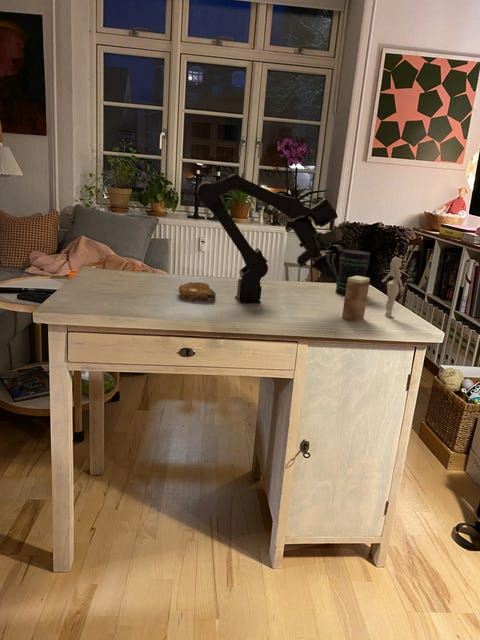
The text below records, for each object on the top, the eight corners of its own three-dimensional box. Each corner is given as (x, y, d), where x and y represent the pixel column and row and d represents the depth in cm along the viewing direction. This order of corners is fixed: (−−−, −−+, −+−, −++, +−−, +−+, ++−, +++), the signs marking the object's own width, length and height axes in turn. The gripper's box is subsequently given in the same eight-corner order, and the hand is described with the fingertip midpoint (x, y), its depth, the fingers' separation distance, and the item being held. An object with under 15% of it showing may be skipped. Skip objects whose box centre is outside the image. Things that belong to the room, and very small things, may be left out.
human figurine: (403, 322, 146) (414, 261, 141) (391, 322, 145) (402, 260, 140) (383, 311, 157) (393, 254, 152) (372, 311, 156) (382, 253, 151)
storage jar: (369, 296, 177) (376, 253, 172) (350, 298, 171) (357, 254, 166) (347, 289, 184) (354, 248, 180) (329, 291, 178) (335, 249, 174)
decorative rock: (175, 291, 160) (180, 306, 147) (175, 279, 159) (180, 292, 145) (210, 291, 163) (219, 305, 149) (211, 278, 162) (219, 291, 148)
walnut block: (341, 318, 144) (347, 277, 141) (350, 315, 149) (357, 275, 146) (354, 322, 142) (361, 280, 139) (363, 318, 147) (370, 278, 143)
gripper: (311, 219, 138) (342, 266, 135) (342, 218, 152) (370, 260, 149) (284, 243, 144) (312, 289, 141) (315, 240, 159) (342, 281, 156)
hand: (336, 279), depth 147 cm, fingers closed
